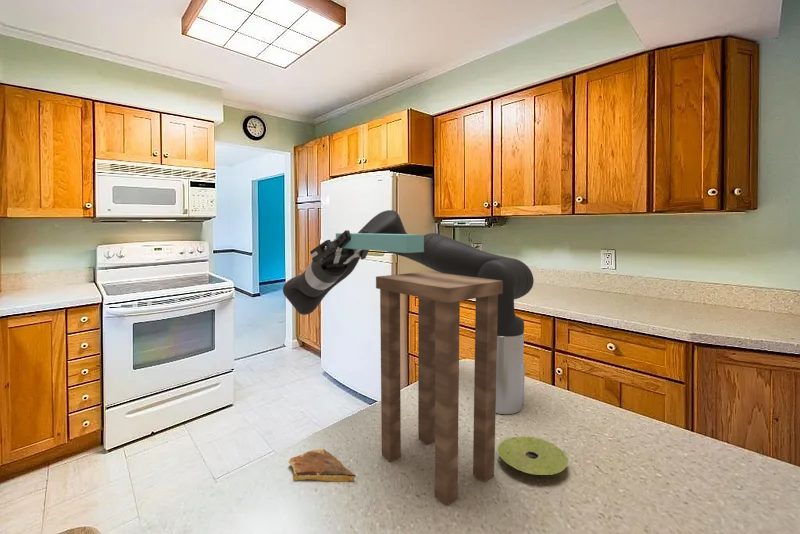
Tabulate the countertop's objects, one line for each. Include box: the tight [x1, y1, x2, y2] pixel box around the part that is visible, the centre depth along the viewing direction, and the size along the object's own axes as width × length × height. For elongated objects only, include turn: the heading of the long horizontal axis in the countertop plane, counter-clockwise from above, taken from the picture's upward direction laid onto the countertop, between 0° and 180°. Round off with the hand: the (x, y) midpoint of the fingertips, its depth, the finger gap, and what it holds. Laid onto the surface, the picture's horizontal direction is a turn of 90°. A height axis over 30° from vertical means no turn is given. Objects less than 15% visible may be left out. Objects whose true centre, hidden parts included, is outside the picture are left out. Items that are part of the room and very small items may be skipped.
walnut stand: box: [375, 270, 503, 507], centre depth 64 cm, size 12×17×32 cm
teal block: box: [335, 232, 425, 253], centre depth 75 cm, size 4×24×3 cm, turn 38°
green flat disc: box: [497, 436, 569, 476], centre depth 66 cm, size 11×11×2 cm
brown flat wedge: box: [288, 448, 357, 483], centre depth 63 cm, size 11×8×2 cm
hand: (358, 234), depth 80 cm, fingers closed on teal block, 4 cm apart
